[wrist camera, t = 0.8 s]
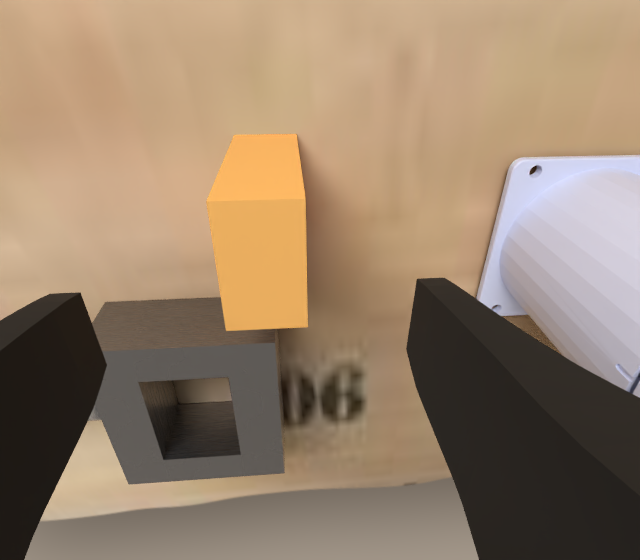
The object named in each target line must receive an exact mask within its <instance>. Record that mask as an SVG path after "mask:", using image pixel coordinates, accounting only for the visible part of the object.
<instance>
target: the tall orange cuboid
mask: <svg viewBox="0 0 640 560" xmlns="http://www.w3.org/2000/svg"><path fill="white" fill-rule="evenodd" d="M206 203H207V209H208V216H209V222H210V229H211V236H212V242H213V249H214V255H215V262H216V269H217V275H218V282H219V288H220V295H221V301H222V308H223V315H224V321H225V328H226V331H237V330H257V329H278V328H299V327H308V312H307V252H306V198H305V191H304V184H303V177H302V170H301V163H300V155H299V148H298V141H297V134H265V135H234V137H233V139H232V141H231V144H230V146H229V149H228V151H227V153H226V156H225V158H224V161H223V163H222V165H221V168H220V170H219V172H218V175H217V177H216V180H215V182H214V184H213V187H212V189H211V191H210V194H209V196H208V199H207V201H206Z"/></svg>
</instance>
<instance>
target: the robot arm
mask: <svg viewBox="0 0 640 560" xmlns="http://www.w3.org/2000/svg"><path fill="white" fill-rule="evenodd" d="M536 165H537V169H536V171H535V172H534V173H533V174H531V175H529V172H530V170H531V168H532V167H534V166H536ZM495 305H497V307H495V308H493V309H492V307H493V306H495ZM512 315H529V316H530V317H531V318H532V320H533V321H534V322H535V323H536V324H537V326H538V327H539V328H540V329H541V330H542V331H543V333H544V334H545V335H546V336H547V337H548V339H549V340H550V341H551V342H552V343H553V344H554V346H555V347H556V348H557V349H558V350H559V352H560V353H561V354H562V355H563V356H562V355H561V354H559V353H557V352H556V351H554V350H552V349H551V348H549V347H548V346H546V345H544V344H543V343H541V342H539V341H538V340H536V339H535V338H533V337H532V336H530V335H528V334H527V333H525V332H524V331H522V330H521V329H519V328H518V327H516V326H515V325H513V324H512V323H510V322H509V321H507V320H506V319H504V318H503V317H501V316H512ZM406 349H407V354H408V358H409V362H410V366H411V370H412V373H413V377H414V381H415V384H416V388H417V391H418V393H419V396H420V398H421V401H422V403H423V406H424V408H425V411H426V413H427V416H428V418H429V421H430V423H431V426H432V428H433V431H434V433H435V436H436V438H437V440H438V443H439V445H440V448H441V450H442V453H443V455H444V458H445V460H446V462H447V465H448V467H449V470H450V472H451V475H452V477H453V480H454V482H455V485H456V488H457V490H458V493H459V496H460V499H461V501H462V504H463V507H464V511H465V514H466V517H467V520H468V524H469V527H470V531H471V534H472V537H473V540H474V544H475V547H476V551H477V554H478V557H479V560H640V155H614V156H564V157H522V158H518V159H516V160H515V161H513V163H512V164H511V165H510V167H509V169H508V173H507V177H506V181H505V185H504V189H503V193H502V197H501V201H500V205H499V209H498V213H497V217H496V221H495V225H494V229H493V233H492V237H491V241H490V245H489V249H488V253H487V257H486V261H485V265H484V269H483V273H482V277H481V281H480V285H479V289H478V293H477V297H476V298H474V297H473V296H471V295H470V294H468V293H467V292H465V291H464V290H463V289H461V288H460V287H458V286H457V285H455V284H454V283H452V282H450V281H449V280H447V279H445V278H425V279H417V282H416V289H415V296H414V302H413V309H412V315H411V322H410V329H409V335H408V342H407V348H406ZM106 367H107V363H106V361H105V358H104V355H103V352H102V350H101V347H100V344H99V342H98V339H97V336H96V334H95V331H94V328H93V325H92V323H91V320H90V317H89V315H88V312H87V309H86V307H85V304H84V301H83V298H82V296H81V293H59V294H49V295H47V296H44V297H42V298H40V299H38V300H36V301H34V302H32V303H30V304H29V305H27V306H25V307H23V308H21V309H20V310H18V311H16V312H14V313H13V314H11V315H9V316H7V317H6V318H4V319H2V320H1V321H0V560H24V559H25V555H26V553H27V550H28V548H29V545H30V542H31V540H32V537H33V535H34V532H35V530H36V528H37V526H38V524H39V521H40V519H41V517H42V514H43V512H44V510H45V508H46V506H47V504H48V502H49V500H50V498H51V496H52V494H53V492H54V490H55V488H56V485H57V483H58V481H59V479H60V477H61V475H62V473H63V471H64V469H65V467H66V465H67V463H68V461H69V459H70V457H71V455H72V453H73V451H74V448H75V446H76V444H77V442H78V440H79V438H80V436H81V434H82V432H83V430H84V427H85V425H86V423H87V421H88V419H89V417H90V415H91V412H92V410H93V408H94V405H95V402H96V399H97V396H98V393H99V390H100V387H101V384H102V381H103V377H104V374H105V370H106Z"/></svg>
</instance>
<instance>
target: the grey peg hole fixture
mask: <svg viewBox="0 0 640 560" xmlns="http://www.w3.org/2000/svg"><path fill="white" fill-rule="evenodd" d="M92 325H93V328H94V331H95V334H96V336H97V339H98V342H99V344H100V347H101V350H102V352H103V355H104V358H105V361H106V363H107V367H106V370H105V374H104V377H103V381H102V384H101V387H100V390H99V393H98V396H97V399H96V402H95V405H94V408H93V410H92V412H91V415H90V417H89V419H88V421H92V420H102V422H103V424H104V427H105V429H106V431H107V434H108V436H109V439H110V441H111V443H112V446H113V448H114V450H115V453H116V455H117V458H118V460H119V462H120V465H121V467H122V469H123V472H124V474H125V477H126V479H127V481H128V484H141V483H155V482H169V481H183V480H197V479H211V478H225V477H238V476H252V475H266V474H280V473H284V410H283V395H282V379H281V364H280V349H279V334H278V329H257V330H237V331H226V328H225V321H224V315H223V308H222V301H221V297H220V298H197V299H173V300H149V301H126V302H105V304H104V305H103V307H102V308H101V310H100V312H99V313H98V315H97V316H96V318H95V320H94V321H93V323H92ZM223 377H229V383H230V390H231V396H232V401H230V402H213V403H196V404H179V405H178V401H177V397H176V393H175V389H174V386H173V382H172V380H186V379H205V378H223Z"/></svg>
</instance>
